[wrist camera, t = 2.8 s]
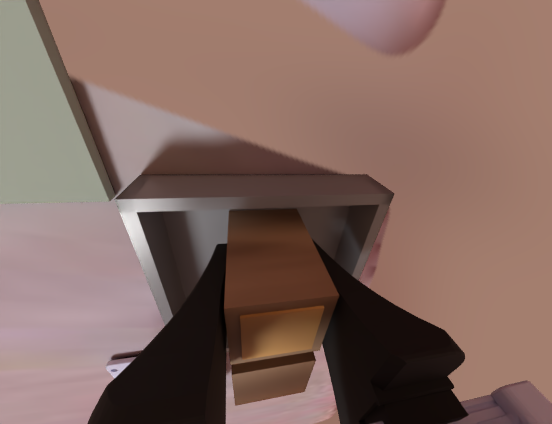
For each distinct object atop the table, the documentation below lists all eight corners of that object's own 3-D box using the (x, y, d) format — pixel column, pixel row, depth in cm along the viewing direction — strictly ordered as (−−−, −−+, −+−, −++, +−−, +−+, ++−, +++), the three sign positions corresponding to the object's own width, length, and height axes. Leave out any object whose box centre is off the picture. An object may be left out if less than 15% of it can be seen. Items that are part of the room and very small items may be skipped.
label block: (290, 257, 14) (320, 352, 9) (232, 261, 14) (230, 367, 9) (296, 208, 12) (340, 297, 7) (228, 210, 12) (223, 311, 6)
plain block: (284, 300, 17) (304, 391, 12) (235, 306, 16) (235, 405, 11) (288, 267, 15) (315, 360, 10) (232, 271, 14) (231, 374, 9)
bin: (324, 307, 19) (335, 335, 17) (185, 325, 17) (178, 359, 15) (366, 174, 12) (394, 193, 10) (140, 175, 10) (114, 199, 8)
